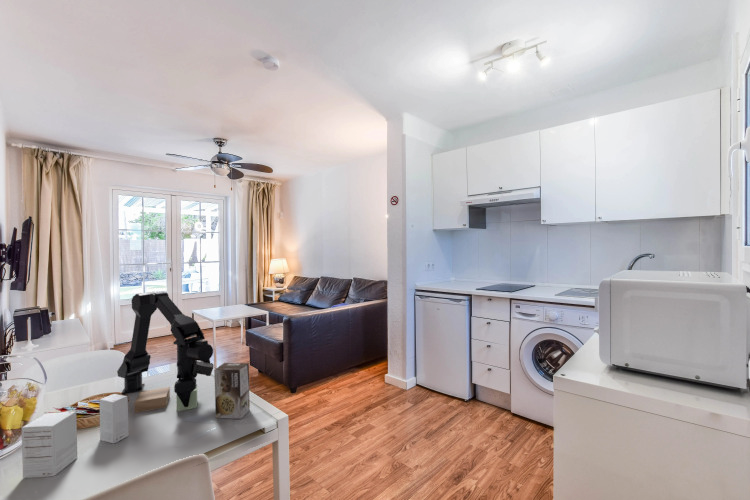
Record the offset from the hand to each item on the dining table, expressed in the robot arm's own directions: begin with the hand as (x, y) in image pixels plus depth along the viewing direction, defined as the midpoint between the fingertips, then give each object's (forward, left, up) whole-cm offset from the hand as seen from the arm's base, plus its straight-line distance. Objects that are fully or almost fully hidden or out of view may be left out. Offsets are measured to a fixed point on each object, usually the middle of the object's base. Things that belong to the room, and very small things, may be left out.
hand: (187, 401), depth 117 cm
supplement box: (+22, -29, -2) cm, 36 cm away
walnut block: (-7, -11, -2) cm, 13 cm away
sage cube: (0, 0, -2) cm, 2 cm away
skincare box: (+13, -18, -2) cm, 22 cm away
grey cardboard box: (+14, +14, -2) cm, 20 cm away
